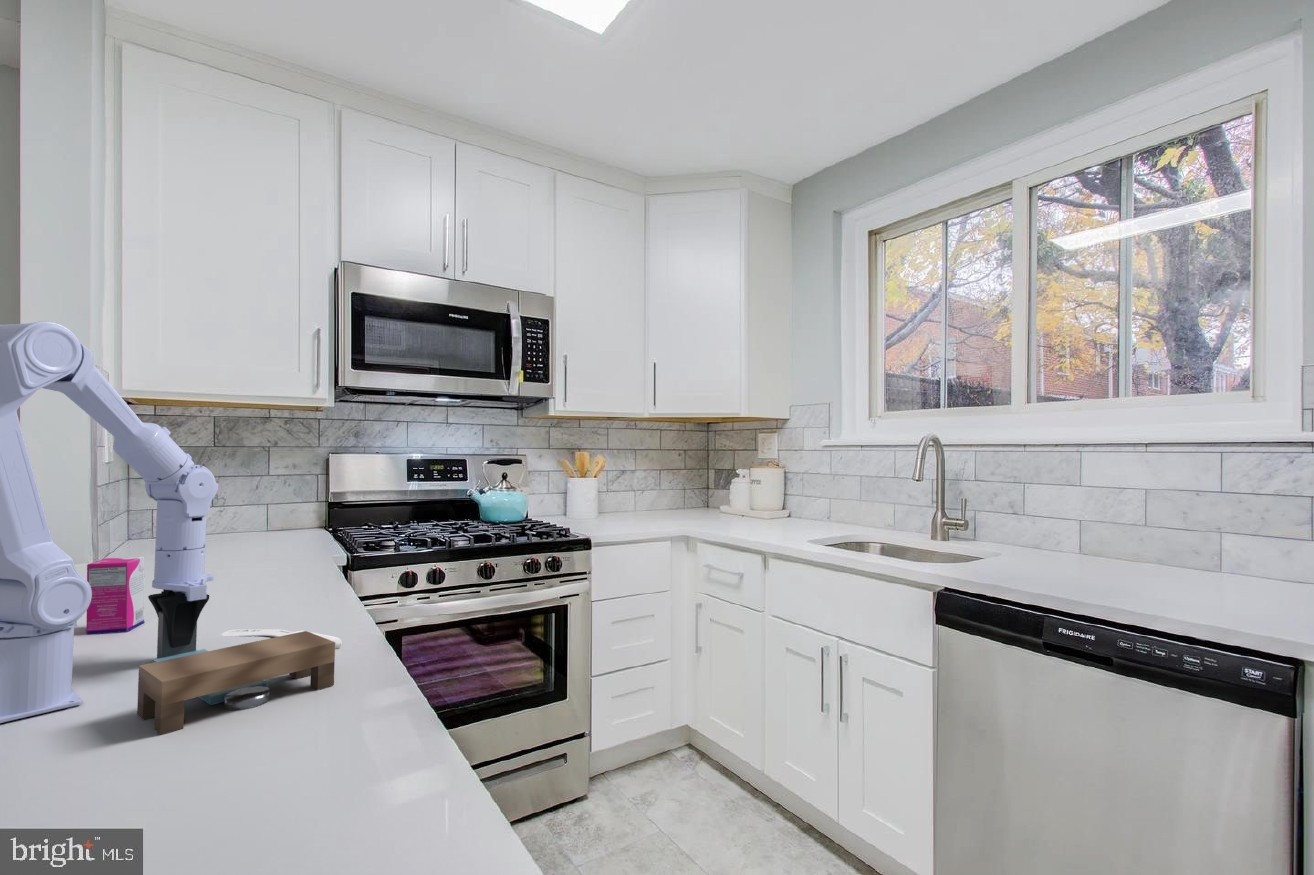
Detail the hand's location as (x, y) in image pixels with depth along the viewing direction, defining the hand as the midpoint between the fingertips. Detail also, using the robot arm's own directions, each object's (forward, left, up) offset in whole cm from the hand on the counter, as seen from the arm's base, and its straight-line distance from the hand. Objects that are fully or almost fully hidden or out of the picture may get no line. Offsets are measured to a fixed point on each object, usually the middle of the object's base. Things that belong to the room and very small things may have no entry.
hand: (177, 644), depth 89 cm
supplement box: (-1, +26, -2) cm, 26 cm away
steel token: (0, -24, -2) cm, 24 cm away
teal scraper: (0, -11, -2) cm, 11 cm away
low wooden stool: (0, -23, -2) cm, 23 cm away
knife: (+12, +2, -3) cm, 12 cm away
